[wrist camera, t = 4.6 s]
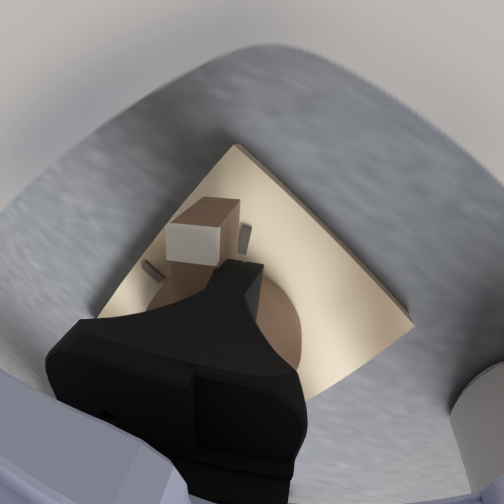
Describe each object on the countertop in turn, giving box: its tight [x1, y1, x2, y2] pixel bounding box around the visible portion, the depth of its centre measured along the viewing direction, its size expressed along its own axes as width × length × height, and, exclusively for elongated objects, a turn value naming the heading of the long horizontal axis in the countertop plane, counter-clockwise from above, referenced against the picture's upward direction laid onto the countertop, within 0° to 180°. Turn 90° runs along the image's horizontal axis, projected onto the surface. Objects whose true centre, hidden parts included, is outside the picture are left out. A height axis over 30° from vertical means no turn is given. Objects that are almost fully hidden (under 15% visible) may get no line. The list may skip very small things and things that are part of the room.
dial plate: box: [97, 143, 415, 402], centre depth 16 cm, size 14×12×1 cm
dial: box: [146, 196, 302, 371], centre depth 13 cm, size 11×8×5 cm
